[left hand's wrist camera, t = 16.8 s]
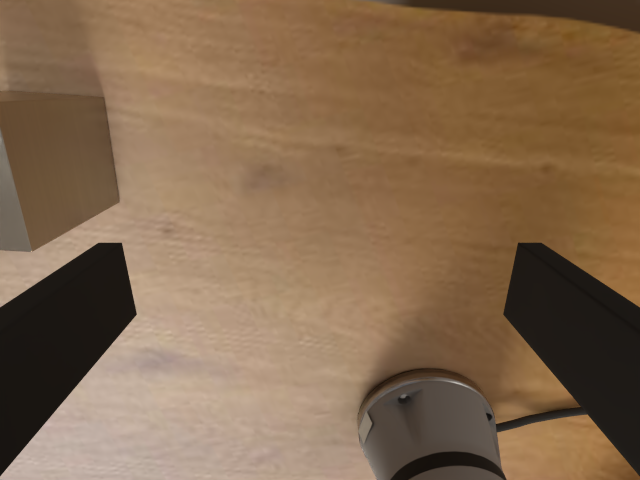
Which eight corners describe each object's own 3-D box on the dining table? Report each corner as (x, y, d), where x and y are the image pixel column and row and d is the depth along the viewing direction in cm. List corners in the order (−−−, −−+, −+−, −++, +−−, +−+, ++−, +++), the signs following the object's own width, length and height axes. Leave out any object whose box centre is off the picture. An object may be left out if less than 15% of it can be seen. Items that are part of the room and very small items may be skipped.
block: (104, 97, 30) (-7, 101, 20) (119, 202, 33) (32, 252, 23) (9, 90, 30) (-153, 92, 20) (34, 196, 33) (-92, 245, 23)
